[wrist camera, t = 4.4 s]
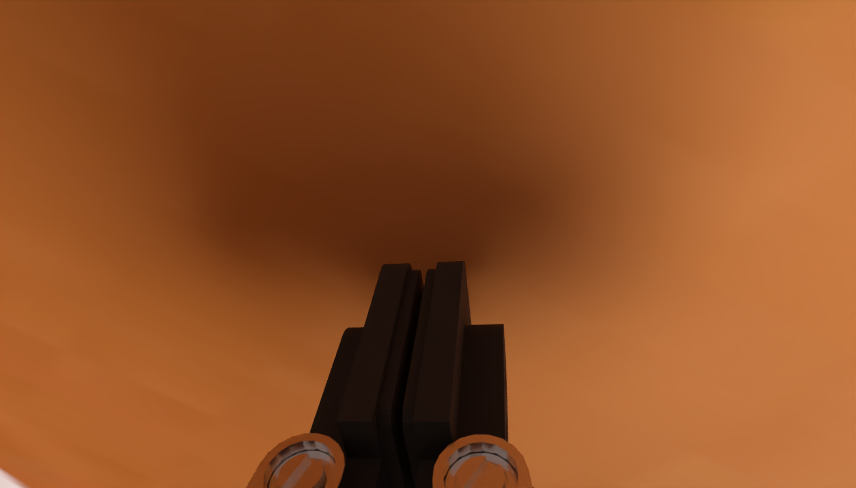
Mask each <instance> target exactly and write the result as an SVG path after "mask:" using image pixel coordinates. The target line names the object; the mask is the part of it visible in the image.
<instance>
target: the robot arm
mask: <svg viewBox="0 0 856 488" xmlns="http://www.w3.org/2000/svg"><path fill="white" fill-rule="evenodd" d="M246 488H533V487H532V483H531V478H530V474H529V470H528V467H527V464H526V462H525V460H524V457H523V456H522V454H521V453H520V452H519V451H518V450H517V449H516V448H515V446H513V445H512V444H510V443H509V442H508V414H507V378H506V356H505V339H504V325H503V324H490V325H471V318H470V308H469V298H468V288H467V279H466V269H465V263H464V261H454V262H438V263H437V266H436V269H429V270H427V273H426V279H425V285H424V287H423V280H422V274H421V271H420V270H412V267H411V265H410V264H409V263H404V264H384V265H383V266H382V268H381V271H380V275H379V278H378V281H377V285H376V288H375V291H374V295H373V298H372V302H371V305H370V308H369V312H368V315H367V318H366V322H365V325H364V327H359V328H347V329H346V330H345V332H344V334H343V336H342V339H341V342H340V345H339V348H338V351H337V354H336V357H335V359H334V362H333V365H332V368H331V371H330V374H329V377H328V380H327V383H326V386H325V389H324V392H323V395H322V398H321V401H320V404H319V407H318V410H317V413H316V416H315V418H314V421H313V424H312V427H311V430H310V433H305V434H301V435H297V436H293V437H291V438H289V439H287V440H285V441H283V442H281V443H279V444H278V445H277V446H275V447H274V448H273V449H272V450H271V451H269V452H268V453H267V455H266V456H265V457H264V459H263V460H262V461H261V463H260V464H259V466H258V467H257V469H256V471H255V473H254V474H253V476H252V478H251V480H250V481H249V483H248V485H247V487H246Z"/></svg>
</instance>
